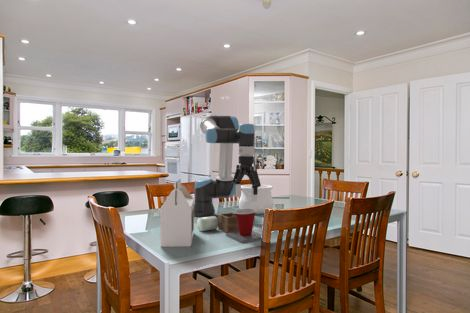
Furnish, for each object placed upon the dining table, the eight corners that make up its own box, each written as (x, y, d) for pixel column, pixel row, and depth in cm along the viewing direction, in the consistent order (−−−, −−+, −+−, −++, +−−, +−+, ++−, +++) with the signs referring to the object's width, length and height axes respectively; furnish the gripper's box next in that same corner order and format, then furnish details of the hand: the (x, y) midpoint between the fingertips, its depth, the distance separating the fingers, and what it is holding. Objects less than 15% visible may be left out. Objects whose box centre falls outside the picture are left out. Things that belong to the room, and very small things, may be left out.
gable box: (167, 233, 158) (168, 178, 157) (194, 233, 159) (194, 178, 158) (160, 247, 136) (160, 183, 135) (190, 246, 136) (191, 183, 136)
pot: (241, 207, 232) (241, 183, 231) (274, 208, 228) (274, 184, 228) (236, 214, 206) (236, 187, 206) (273, 215, 203) (273, 188, 202)
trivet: (226, 235, 154) (226, 233, 154) (249, 231, 162) (249, 229, 162) (241, 243, 142) (241, 240, 142) (265, 238, 150) (265, 236, 150)
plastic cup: (233, 231, 157) (233, 208, 157) (255, 231, 158) (255, 208, 157) (234, 237, 146) (234, 212, 146) (257, 237, 147) (257, 212, 147)
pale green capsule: (203, 232, 159) (203, 219, 159) (197, 230, 165) (197, 216, 165) (218, 230, 164) (218, 217, 164) (212, 227, 170) (211, 215, 170)
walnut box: (218, 229, 167) (218, 214, 166) (232, 227, 171) (232, 212, 171) (226, 233, 159) (227, 217, 159) (241, 230, 164) (241, 215, 164)
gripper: (226, 154, 159) (226, 196, 160) (255, 156, 139) (254, 204, 139) (238, 154, 164) (238, 195, 164) (268, 156, 143) (268, 202, 143)
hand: (245, 199), depth 152 cm, fingers open, 13 cm apart
